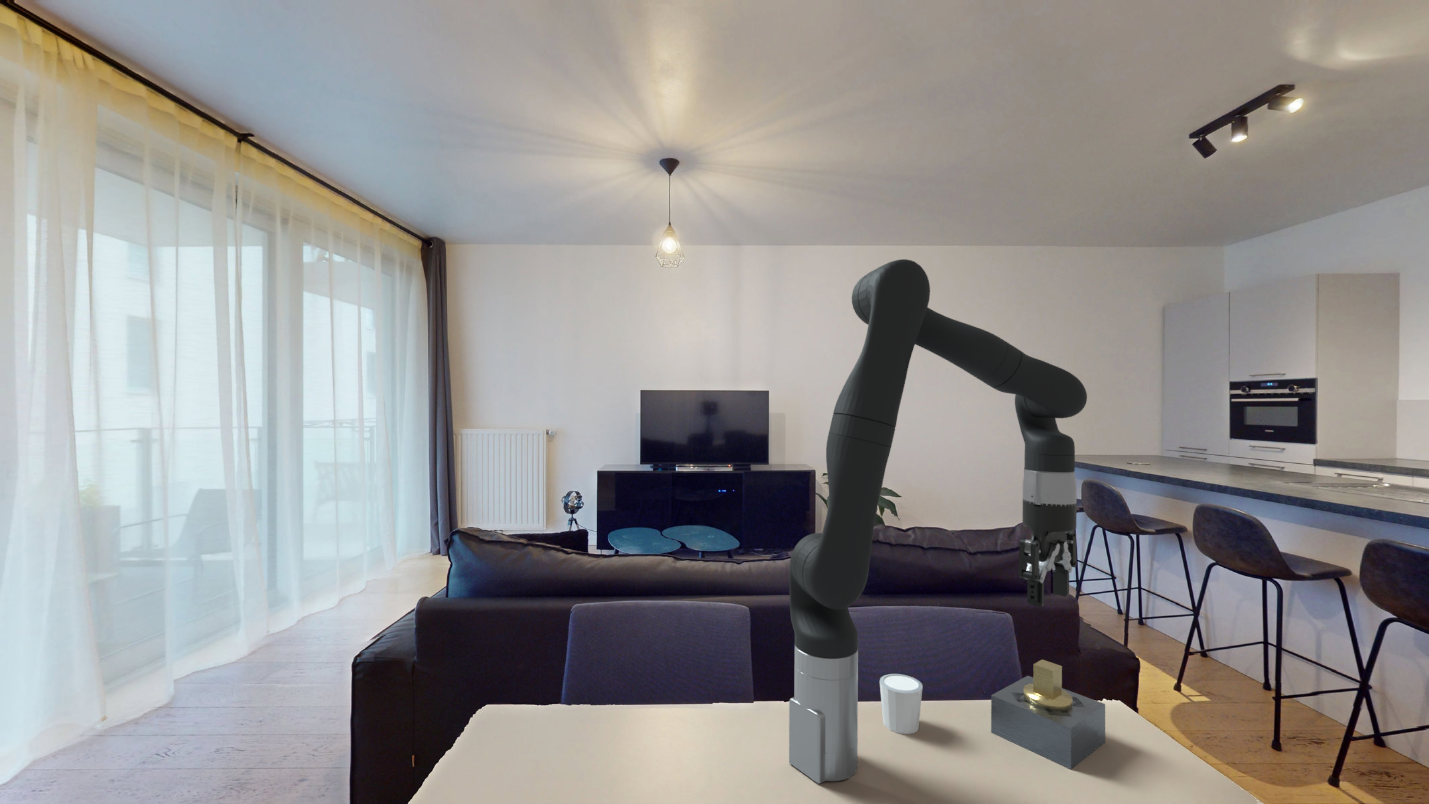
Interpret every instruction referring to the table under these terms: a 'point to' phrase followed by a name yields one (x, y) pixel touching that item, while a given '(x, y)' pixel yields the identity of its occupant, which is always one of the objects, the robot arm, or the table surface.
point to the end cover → (1047, 687)
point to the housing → (1049, 724)
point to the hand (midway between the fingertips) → (1048, 600)
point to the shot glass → (901, 702)
